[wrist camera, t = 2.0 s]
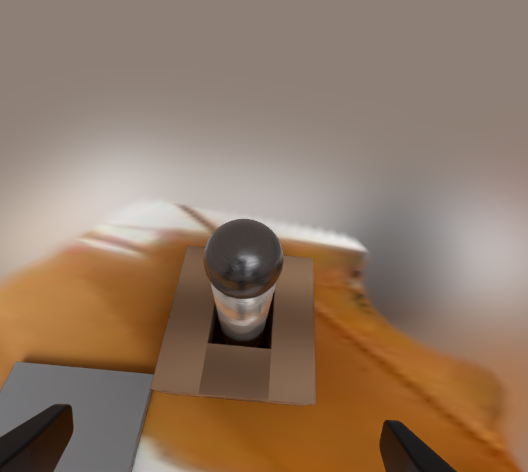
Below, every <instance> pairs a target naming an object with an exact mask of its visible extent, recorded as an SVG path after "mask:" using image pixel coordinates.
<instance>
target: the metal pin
mask: <svg viewBox="0 0 528 472" xmlns="http://www.w3.org/2000/svg"><path fill="white" fill-rule="evenodd" d="M283 261H284V257H283V250H282V246H281V244H280V242H279V239H278V238H277V236H276V235H275V234H274V232H273V231H272V230H271V229H269V228H268V227H267V226H266V225H264V224H262V223H260V222H257V221H254V220H250V219H238V220H233V221H230V222H228V223H225V224H223V225H222V226H220V227H219V228H218V229H217V230H216V231H215V232H214V233H213V234H212V235H211V237H210V238H209V240H208V242H207V244H206V247H205V250H204V256H203V262H204V269H205V272H206V275H207V277H208V279H209V281H210V283H211V287H212V291H213V296H214V300H215V304H216V308H217V312H218V317H219V321H220V325H221V329H222V334H223V337H224V340H225V342H226V344H227V345H232V346H243V347H253V348H255V347H256V346H257V345H258V344H259V342H260V341H261V338H262V335H263V331H264V327H265V324H266V320H267V316H268V312H269V308H270V304H271V301H272V297H273V293H274V289H275V285H276V282H277V280H278V279H279V276H280V274H281V272H282V268H283Z"/></svg>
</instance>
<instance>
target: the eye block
mask: <svg viewBox="0 0 528 472" xmlns="http://www.w3.org/2000/svg"><path fill="white" fill-rule="evenodd" d="M204 250H205V247H195V246H187V249H186V253H185V257H184V261H183V265H182V269H181V273H180V276H179V280H178V284H177V288H176V292H175V296H174V299H173V303H172V307H171V311H170V315H169V319H168V323H167V326H166V330H165V334H164V338H163V342H162V346H161V350H160V353H159V357H158V361H157V365H156V369H155V373H154V376H153V380H152V384H151V388H150V389H152V390H156V391H159V392H163V393H166V394H176V395H187V396H198V397H209V398H220V399H231V400H242V401H253V402H264V403H274V404H285V405H296V406H307V405H314V404H316V383H315V332H314V281H313V258H305V257H295V256H285V255H283V257H284V261H283V268H282V272H281V274H280V276H279V279H278V280H277V282H276V285H275V289H274V293H273V297H272V301H271V304H270V314H269V329H268V343H267V349H264V348H253V347H243V346H232V345H222V344H215V341H216V334H217V328H218V322H219V317H218V312H217V308H216V304H215V300H214V296H213V291H212V287H211V283H210V281H209V279H208V277H207V275H206V272H205V269H204V262H203V256H204Z"/></svg>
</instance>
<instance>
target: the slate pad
mask: <svg viewBox="0 0 528 472" xmlns="http://www.w3.org/2000/svg"><path fill="white" fill-rule="evenodd" d="M153 376H154V374H144V373H134V372H123V371H112V370H101V369H91V368H80V367H69V366H58V365H47V364H37V363H26V362H16V363H15V365H14V367H13V369H12V371H11V372H10V374H9V376H8V378H7V380H6V382H5V384H4V386H3V388H2V390H1V392H0V437H1V436H3V435H4V434H6V433H8V432H9V431H11V430H13V429H14V428H16V427H17V426H19V425H21V424H22V423H24V422H26V421H27V420H29V419H30V418H32V417H34V416H35V415H37V414H39V413H40V412H42V411H43V410H45V409H47V408H48V407H50V406H52V405H54V404H57V403H58V404H70V405H71V406H72V412H73V423H74V430H73V434H72V437H71V439H70V441H69V443H68V445H67V447H66V449H65V451H64V453H63V455H62V457H61V459H60V460H59V462H58V464H57V466H56V468H55V470H54V472H131V471H132V467H133V463H134V459H135V456H136V452H137V448H138V444H139V440H140V436H141V432H142V428H143V424H144V420H145V416H146V413H147V409H148V405H149V401H150V397H151V393H152V389H150V388H151V384H152V380H153Z"/></svg>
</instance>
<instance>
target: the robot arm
mask: <svg viewBox="0 0 528 472" xmlns="http://www.w3.org/2000/svg"><path fill="white" fill-rule="evenodd" d="M73 430H74V423H73V412H72V406H71V405H70V404H58V403H57V404H54V405H52V406H50V407H48V408H47V409H45V410H43V411H42V412H40V413H39V414H37V415H35V416H34V417H32V418H30V419H29V420H27V421H26V422H24V423H22V424H21V425H19V426H17V427H16V428H14V429H13V430H11V431H9V432H8V433H6V434H4V435H3V436H1V437H0V472H54V470H55V468H56V466H57V464H58V462H59V460H60V459H61V457H62V455H63V453H64V451H65V449H66V447H67V445H68V443H69V441H70V439H71V437H72V434H73ZM380 452H381V456H382V459H383V463H384V466H385V470H386V472H457V471H455V470H454V469H453V468H452V467H451V466H450V465H449V464H448V463H446V462H445V461H444V460H443V459H442V458H441V457H440V456H439V455H437V454H436V453H435V452H434V451H433V450H432V449H431V448H430V447H428V446H427V445H426V444H425V443H424V442H423V441H422V440H421V439H419V438H418V437H417V436H416V435H415V434H414V433H413V432H412V431H410V430H409V429H408V428H407V427H406V426H405V425H404V424H403V423H401V422H400V421H397V420H386V421H385V422H384V424H383V428H382V433H381V438H380Z"/></svg>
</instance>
